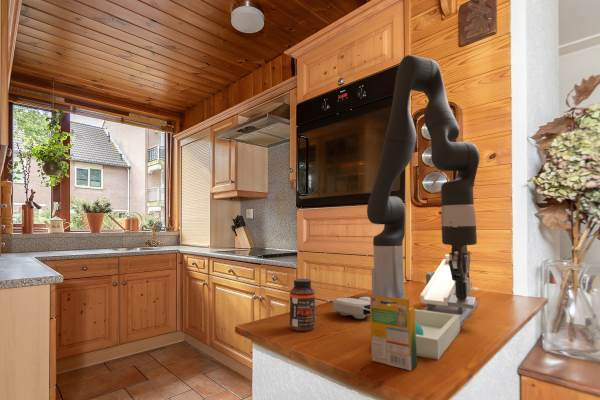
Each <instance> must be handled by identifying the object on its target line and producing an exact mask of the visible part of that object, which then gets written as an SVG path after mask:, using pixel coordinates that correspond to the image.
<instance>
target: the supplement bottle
mask: <svg viewBox="0 0 600 400" xmlns="http://www.w3.org/2000/svg"><path fill="white" fill-rule="evenodd" d="M311 283H312V280H311V279H309V278H295V279H294V280H293V285H294V286H293V288H291V289H290V291H289V327H290V329H291V330H293V331H295V332H309V331H312V330H314V329H315V327H316V292H315V290H314V289H313V288H312V286H311V285H312V284H311Z"/></svg>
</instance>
